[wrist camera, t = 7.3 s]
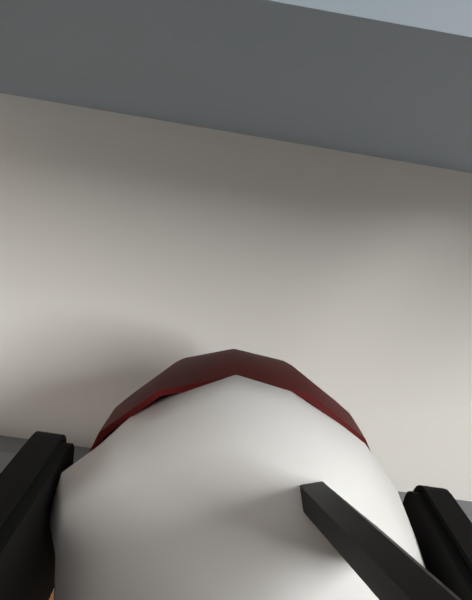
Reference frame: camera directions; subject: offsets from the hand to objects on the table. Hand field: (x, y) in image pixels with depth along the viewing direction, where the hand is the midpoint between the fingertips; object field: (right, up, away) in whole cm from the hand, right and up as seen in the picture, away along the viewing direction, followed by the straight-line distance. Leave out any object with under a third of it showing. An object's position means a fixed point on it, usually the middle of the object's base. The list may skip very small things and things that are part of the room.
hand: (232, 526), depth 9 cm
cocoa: (0, +1, +3) cm, 4 cm away
